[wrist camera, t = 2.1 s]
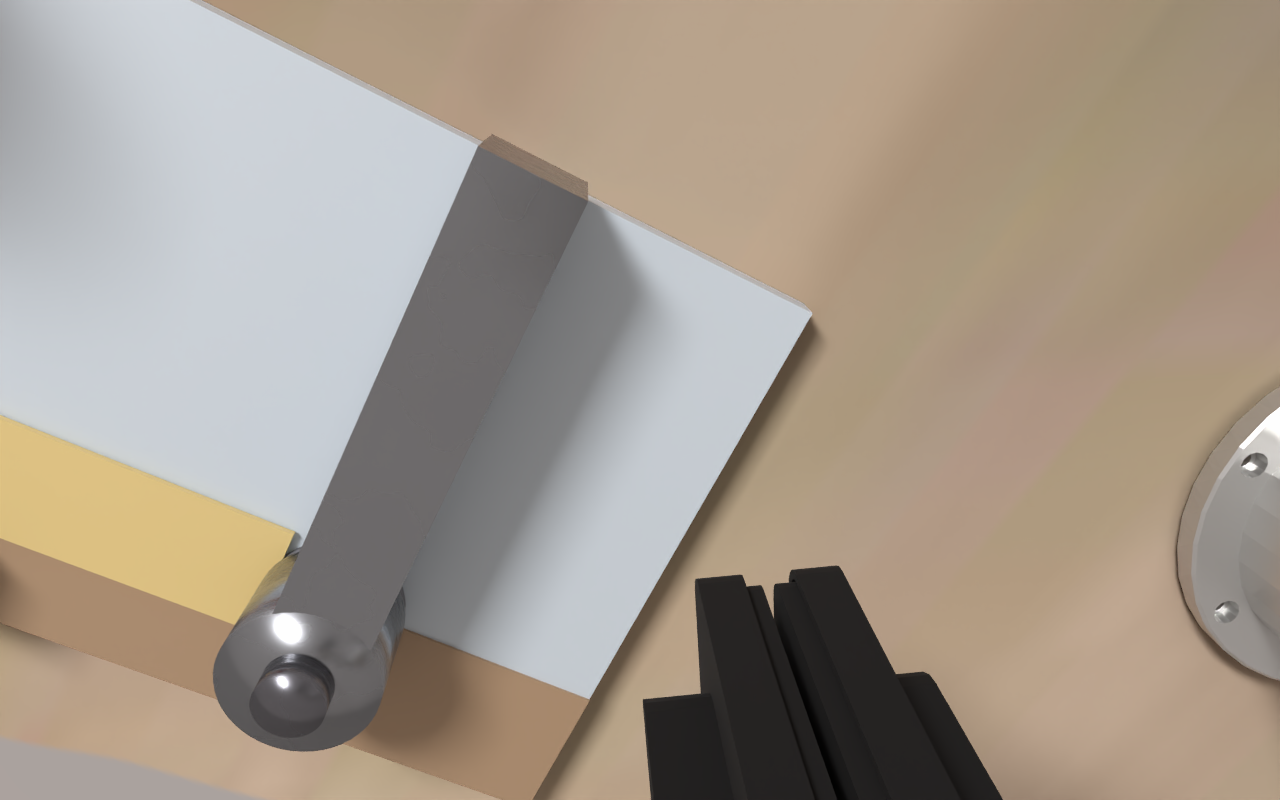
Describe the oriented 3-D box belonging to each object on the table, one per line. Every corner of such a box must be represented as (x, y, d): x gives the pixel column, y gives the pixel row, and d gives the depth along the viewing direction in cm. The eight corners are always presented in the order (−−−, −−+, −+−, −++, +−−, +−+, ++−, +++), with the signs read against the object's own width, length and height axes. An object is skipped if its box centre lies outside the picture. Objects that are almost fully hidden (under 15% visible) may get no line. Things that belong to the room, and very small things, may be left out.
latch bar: (372, 693, 31) (338, 798, 26) (235, 643, 30) (175, 742, 25) (617, 197, 26) (624, 225, 21) (460, 118, 25) (435, 130, 20)
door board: (803, 303, 29) (836, 339, 25) (529, 782, 34) (522, 870, 31) (-83, -144, 24) (-210, -182, 20) (-238, 507, 29) (-359, 573, 25)
